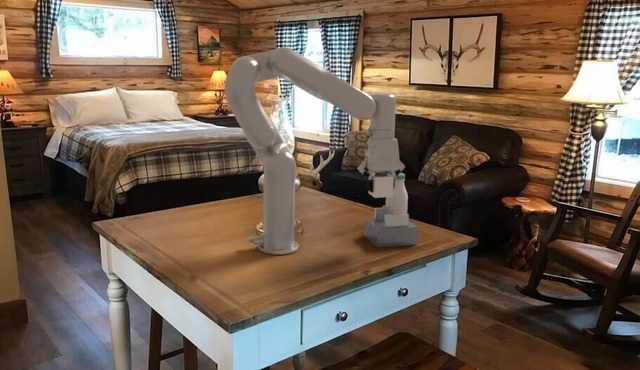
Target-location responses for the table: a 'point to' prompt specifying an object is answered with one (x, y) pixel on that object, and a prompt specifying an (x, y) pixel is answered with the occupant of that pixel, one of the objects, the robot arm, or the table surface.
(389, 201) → the milk bottle
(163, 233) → the table surface
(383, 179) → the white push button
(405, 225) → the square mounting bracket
